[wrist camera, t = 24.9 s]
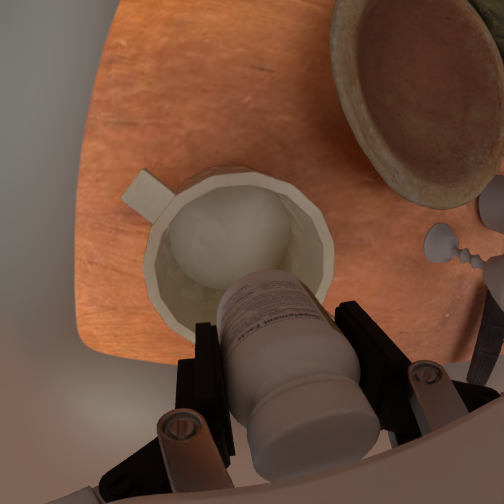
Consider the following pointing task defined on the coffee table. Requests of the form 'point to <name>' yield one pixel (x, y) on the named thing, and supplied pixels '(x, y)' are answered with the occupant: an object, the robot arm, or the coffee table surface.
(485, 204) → the can
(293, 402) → the pill bottle
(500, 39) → the decorative rock
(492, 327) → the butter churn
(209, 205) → the pot
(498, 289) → the chalice
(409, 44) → the bowl
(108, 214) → the coffee table surface
